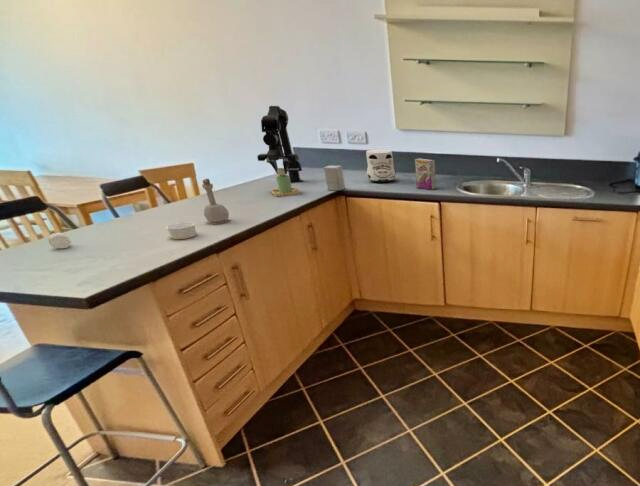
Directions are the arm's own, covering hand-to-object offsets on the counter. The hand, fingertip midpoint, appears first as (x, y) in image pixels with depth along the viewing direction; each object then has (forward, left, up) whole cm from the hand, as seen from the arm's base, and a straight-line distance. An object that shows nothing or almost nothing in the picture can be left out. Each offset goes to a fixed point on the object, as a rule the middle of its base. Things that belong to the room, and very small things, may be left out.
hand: (282, 174), depth 223 cm
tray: (0, 0, -10) cm, 10 cm away
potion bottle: (+41, -36, -10) cm, 56 cm away
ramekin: (+56, -49, -10) cm, 75 cm away
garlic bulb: (+47, -84, -10) cm, 97 cm away
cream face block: (-4, +57, -10) cm, 58 cm away
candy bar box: (+28, +71, -10) cm, 77 cm away
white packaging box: (+4, +26, -10) cm, 28 cm away
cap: (0, 0, 0) cm, 0 cm away
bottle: (0, 0, -10) cm, 10 cm away
